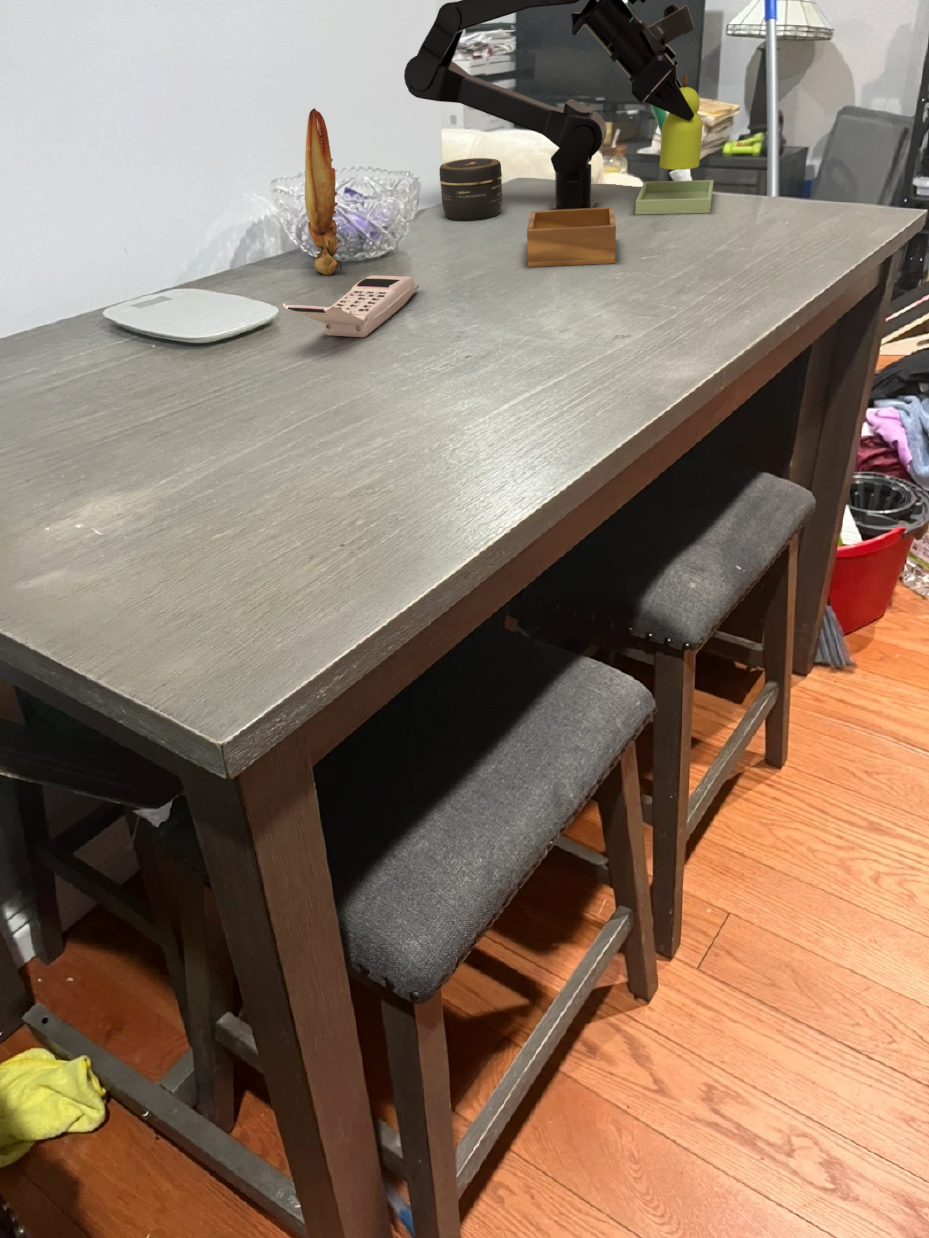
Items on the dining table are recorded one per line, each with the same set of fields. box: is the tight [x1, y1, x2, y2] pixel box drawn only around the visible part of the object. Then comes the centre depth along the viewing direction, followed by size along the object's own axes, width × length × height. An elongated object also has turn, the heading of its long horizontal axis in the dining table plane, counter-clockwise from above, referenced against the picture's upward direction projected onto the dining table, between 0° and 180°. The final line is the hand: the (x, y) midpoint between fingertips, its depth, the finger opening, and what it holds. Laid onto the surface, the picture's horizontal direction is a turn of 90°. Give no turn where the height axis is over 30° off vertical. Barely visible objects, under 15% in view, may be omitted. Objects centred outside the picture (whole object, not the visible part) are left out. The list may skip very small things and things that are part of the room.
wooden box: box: [526, 206, 617, 268], centre depth 122 cm, size 11×11×5 cm
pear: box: [659, 74, 703, 171], centre depth 136 cm, size 6×6×12 cm
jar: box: [439, 157, 503, 222], centre depth 146 cm, size 10×10×8 cm
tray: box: [634, 179, 715, 215], centre depth 144 cm, size 14×11×2 cm
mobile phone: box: [282, 275, 420, 338], centre depth 103 cm, size 6×6×25 cm
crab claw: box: [304, 108, 343, 276], centre depth 118 cm, size 7×5×20 cm
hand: (692, 116), depth 136 cm, fingers closed on pear, 5 cm apart
